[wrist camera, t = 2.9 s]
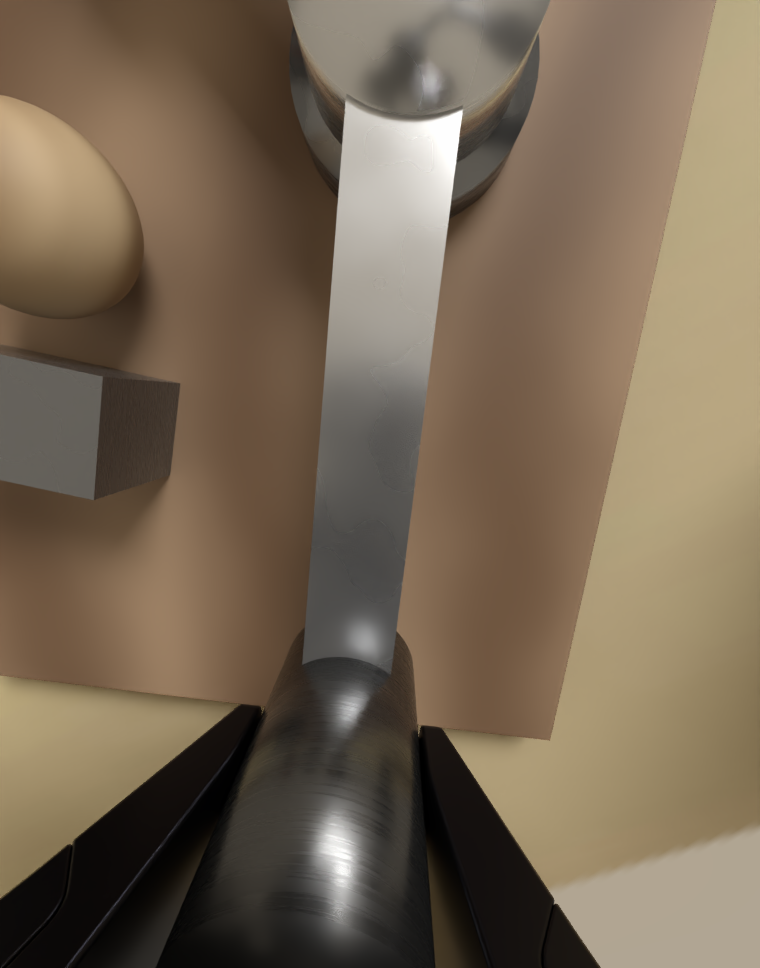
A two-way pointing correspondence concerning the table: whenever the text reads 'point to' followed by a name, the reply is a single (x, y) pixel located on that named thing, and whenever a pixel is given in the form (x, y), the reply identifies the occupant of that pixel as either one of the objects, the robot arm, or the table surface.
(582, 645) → the table surface
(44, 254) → the tan ball
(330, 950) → the lever
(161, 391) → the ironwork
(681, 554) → the table surface
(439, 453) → the board
